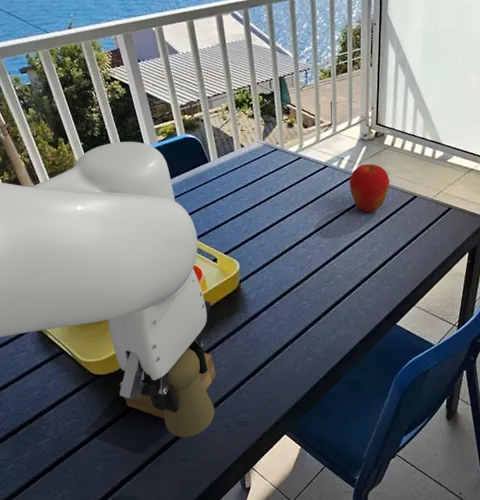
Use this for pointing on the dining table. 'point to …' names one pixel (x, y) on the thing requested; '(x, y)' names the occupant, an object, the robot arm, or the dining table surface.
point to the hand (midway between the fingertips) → (181, 386)
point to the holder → (147, 406)
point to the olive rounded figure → (188, 398)
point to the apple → (369, 187)
